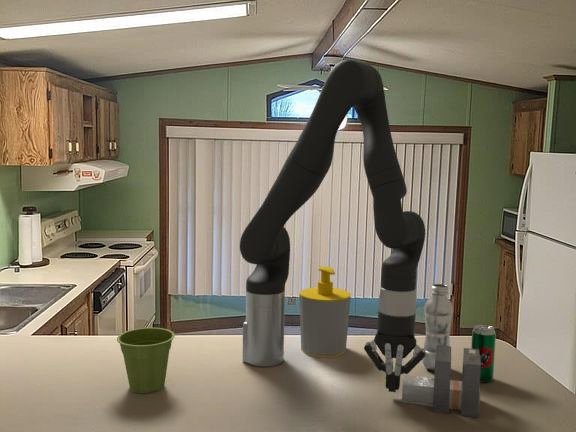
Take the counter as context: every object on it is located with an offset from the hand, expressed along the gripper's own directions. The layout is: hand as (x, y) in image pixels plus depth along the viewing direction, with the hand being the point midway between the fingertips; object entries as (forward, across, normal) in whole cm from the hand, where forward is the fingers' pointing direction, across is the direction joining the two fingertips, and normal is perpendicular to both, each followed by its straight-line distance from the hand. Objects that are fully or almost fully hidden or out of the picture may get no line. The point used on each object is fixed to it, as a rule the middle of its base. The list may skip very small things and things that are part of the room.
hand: (392, 390), depth 125 cm
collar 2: (+1, +15, 0) cm, 15 cm away
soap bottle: (+2, -20, +24) cm, 31 cm away
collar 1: (+1, +10, 0) cm, 10 cm away
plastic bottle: (+2, +8, +20) cm, 21 cm away
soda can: (+2, +18, +16) cm, 25 cm away
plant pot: (+2, -51, -11) cm, 52 cm away
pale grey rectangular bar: (+1, +10, +1) cm, 10 cm away
